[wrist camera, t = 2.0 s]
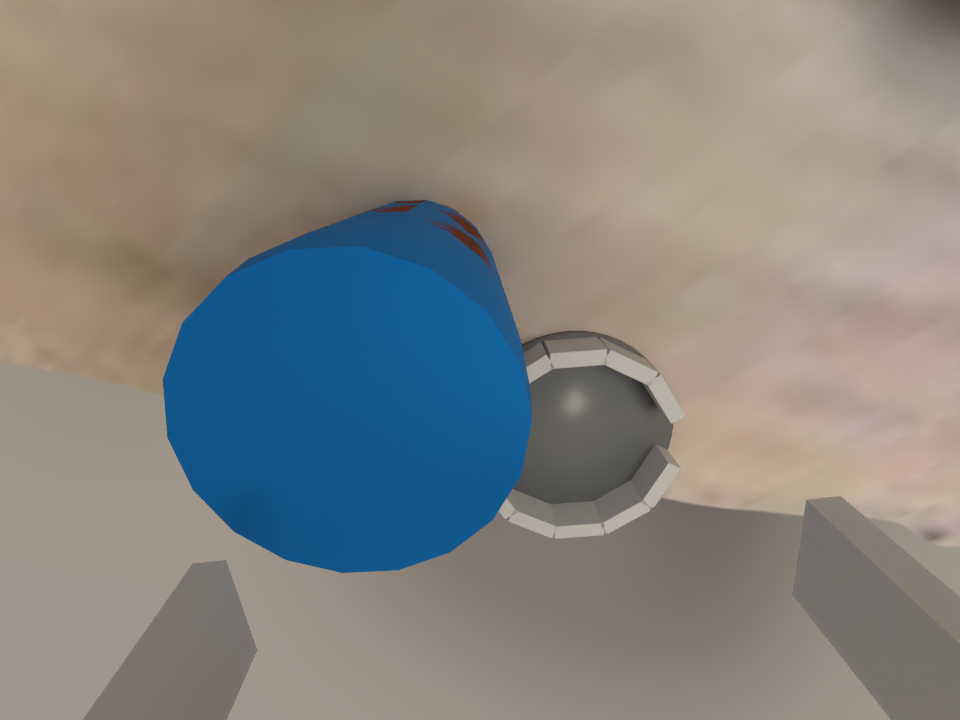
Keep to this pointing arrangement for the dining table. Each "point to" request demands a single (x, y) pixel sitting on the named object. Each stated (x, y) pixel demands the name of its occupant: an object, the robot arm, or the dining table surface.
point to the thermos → (355, 392)
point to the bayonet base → (592, 437)
